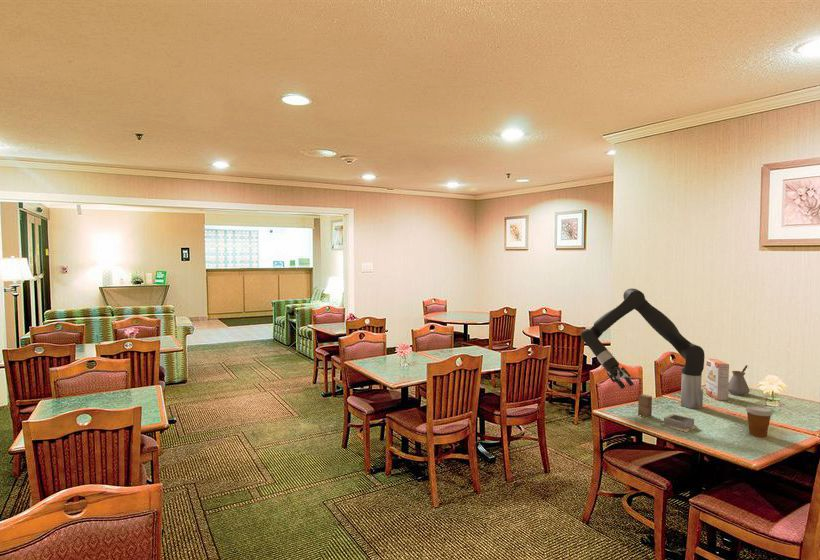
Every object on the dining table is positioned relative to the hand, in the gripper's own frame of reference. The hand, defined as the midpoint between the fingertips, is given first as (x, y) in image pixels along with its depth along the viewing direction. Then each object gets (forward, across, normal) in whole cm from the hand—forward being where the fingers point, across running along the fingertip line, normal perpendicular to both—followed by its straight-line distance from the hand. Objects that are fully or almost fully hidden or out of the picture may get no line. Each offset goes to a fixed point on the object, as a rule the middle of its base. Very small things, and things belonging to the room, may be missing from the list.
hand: (628, 386), depth 245 cm
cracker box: (+21, +66, -3) cm, 69 cm away
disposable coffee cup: (+46, +14, -28) cm, 56 cm away
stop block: (+15, 0, +3) cm, 16 cm away
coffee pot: (+24, +90, -6) cm, 93 cm away
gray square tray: (+28, -3, -10) cm, 29 cm away
